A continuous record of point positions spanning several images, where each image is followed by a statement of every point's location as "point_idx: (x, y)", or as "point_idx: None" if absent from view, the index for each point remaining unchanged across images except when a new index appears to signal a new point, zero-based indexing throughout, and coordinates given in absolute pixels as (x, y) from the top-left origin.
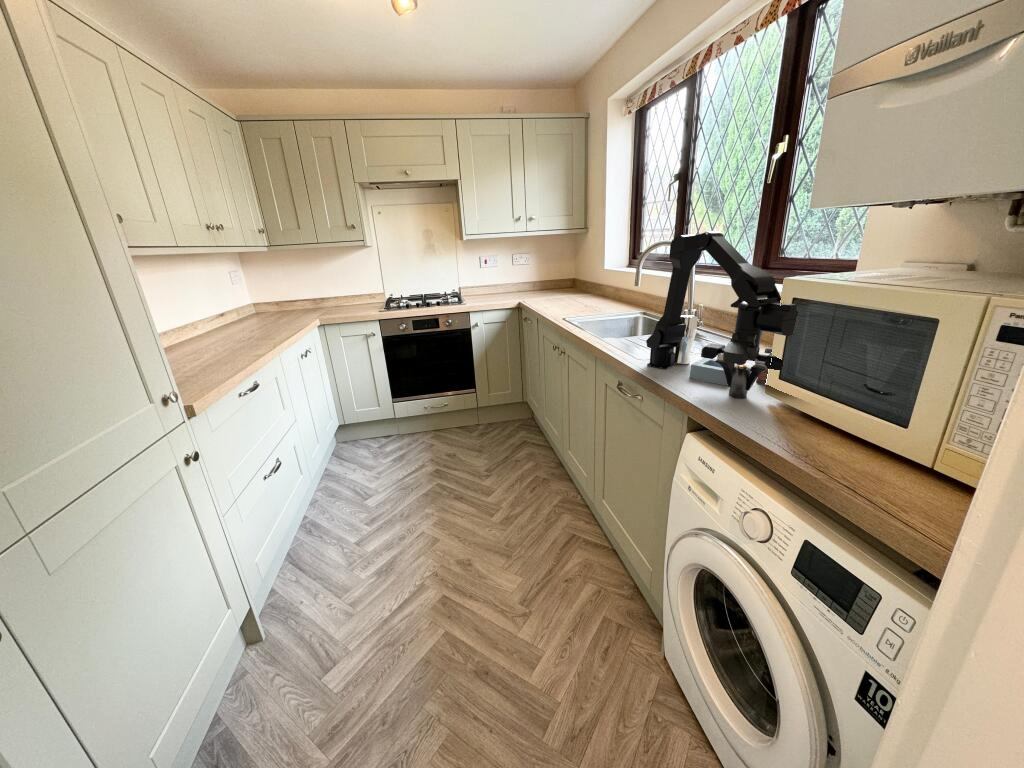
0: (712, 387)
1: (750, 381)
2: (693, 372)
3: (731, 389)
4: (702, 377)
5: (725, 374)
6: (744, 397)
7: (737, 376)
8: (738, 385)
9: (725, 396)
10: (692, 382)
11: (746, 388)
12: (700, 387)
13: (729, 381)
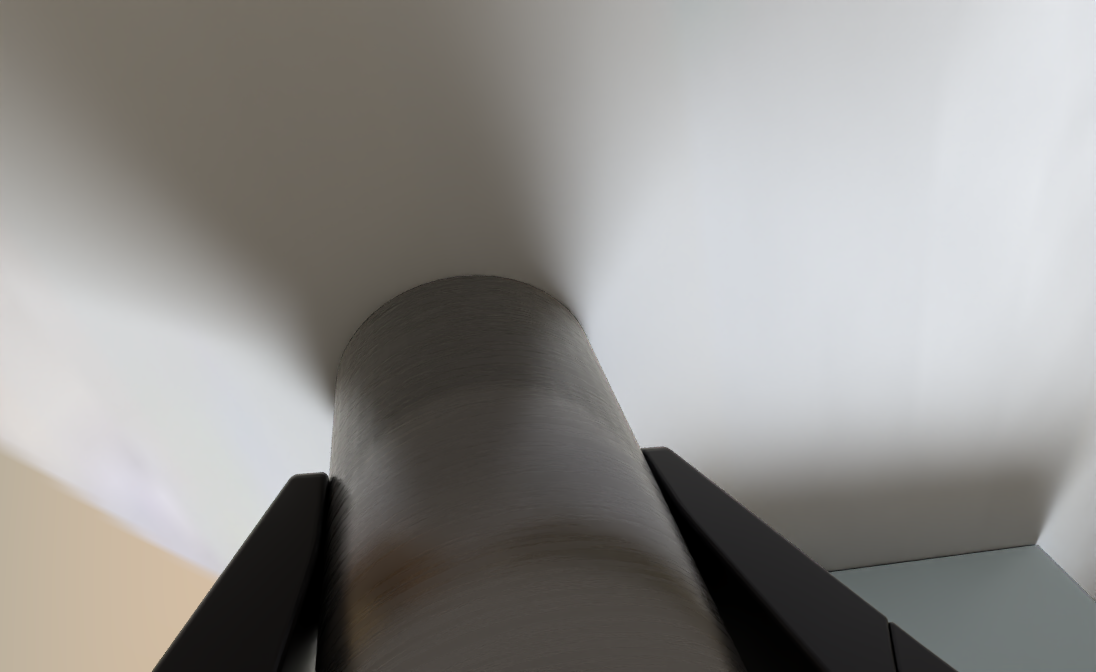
0: (815, 460)
1: (214, 667)
2: (1070, 613)
3: (584, 373)
4: (946, 592)
5: (891, 627)
6: (342, 365)
7: (597, 658)
8: (480, 452)
9: (617, 257)
10: (1027, 459)
11: (332, 501)
12: (956, 373)
13: (699, 520)
